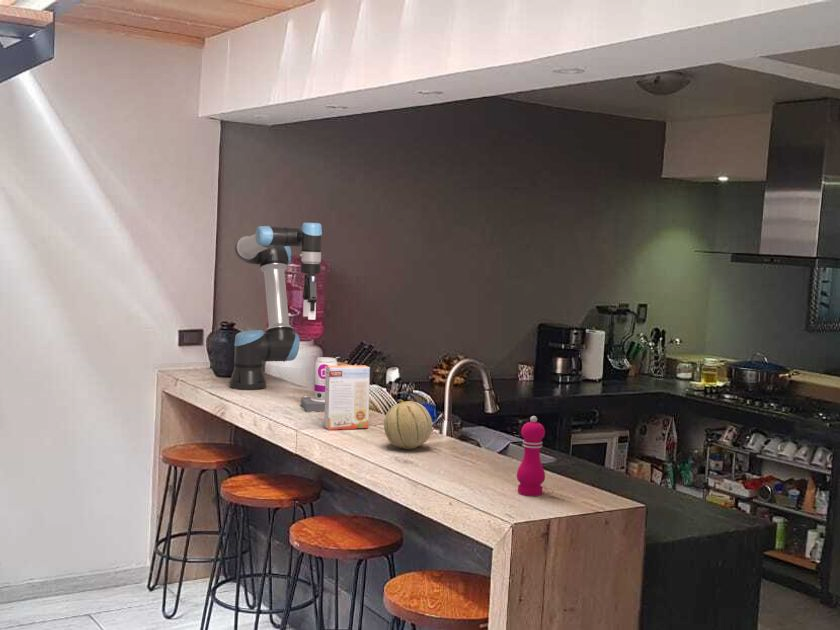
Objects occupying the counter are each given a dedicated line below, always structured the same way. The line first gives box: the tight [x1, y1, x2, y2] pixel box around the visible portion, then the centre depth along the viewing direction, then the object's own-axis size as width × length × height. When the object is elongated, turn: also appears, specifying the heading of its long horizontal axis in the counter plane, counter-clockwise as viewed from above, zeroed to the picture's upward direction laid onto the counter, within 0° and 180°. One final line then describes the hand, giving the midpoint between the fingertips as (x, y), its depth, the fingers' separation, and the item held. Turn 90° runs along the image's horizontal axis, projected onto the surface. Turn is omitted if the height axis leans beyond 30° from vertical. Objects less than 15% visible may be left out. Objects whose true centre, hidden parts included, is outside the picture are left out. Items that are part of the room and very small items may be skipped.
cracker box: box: [323, 364, 371, 431], centre depth 322 cm, size 14×6×21 cm, turn 110°
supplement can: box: [313, 356, 338, 400], centre depth 357 cm, size 8×8×15 cm
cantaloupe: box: [383, 398, 433, 450], centre depth 295 cm, size 15×15×15 cm
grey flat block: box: [300, 394, 325, 412], centre depth 358 cm, size 14×16×4 cm
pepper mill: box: [516, 415, 546, 497], centre depth 247 cm, size 7×7×20 cm
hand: (309, 318), depth 374 cm, fingers open, 13 cm apart
